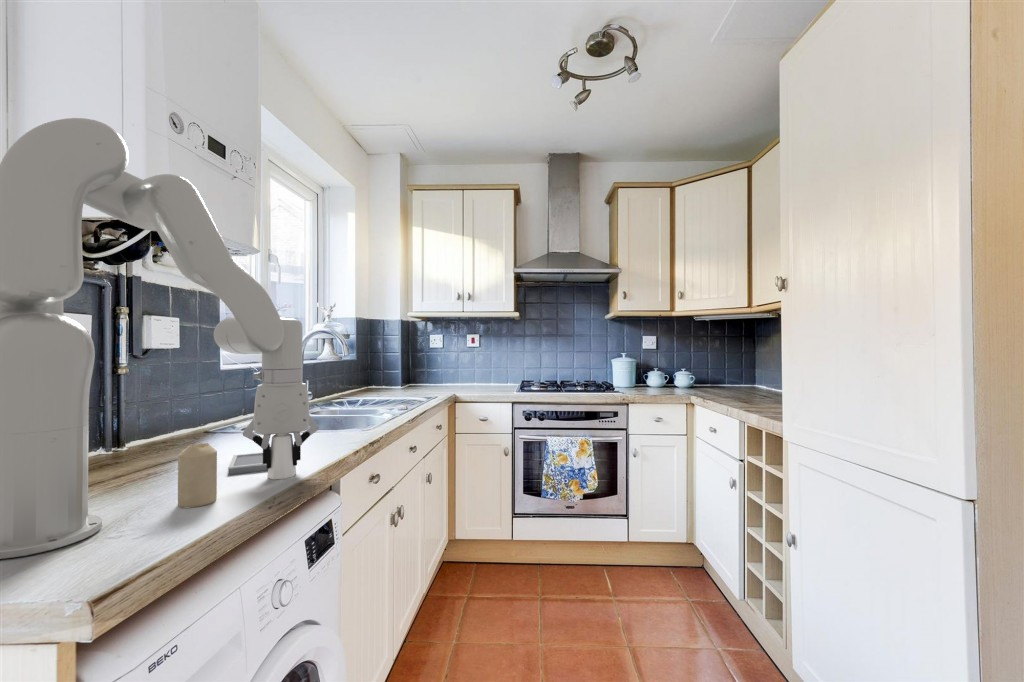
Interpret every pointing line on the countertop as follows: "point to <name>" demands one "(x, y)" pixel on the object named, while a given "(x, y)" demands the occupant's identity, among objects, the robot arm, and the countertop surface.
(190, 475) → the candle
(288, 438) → the salt shaker
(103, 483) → the countertop surface
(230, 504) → the countertop surface
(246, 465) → the tray
